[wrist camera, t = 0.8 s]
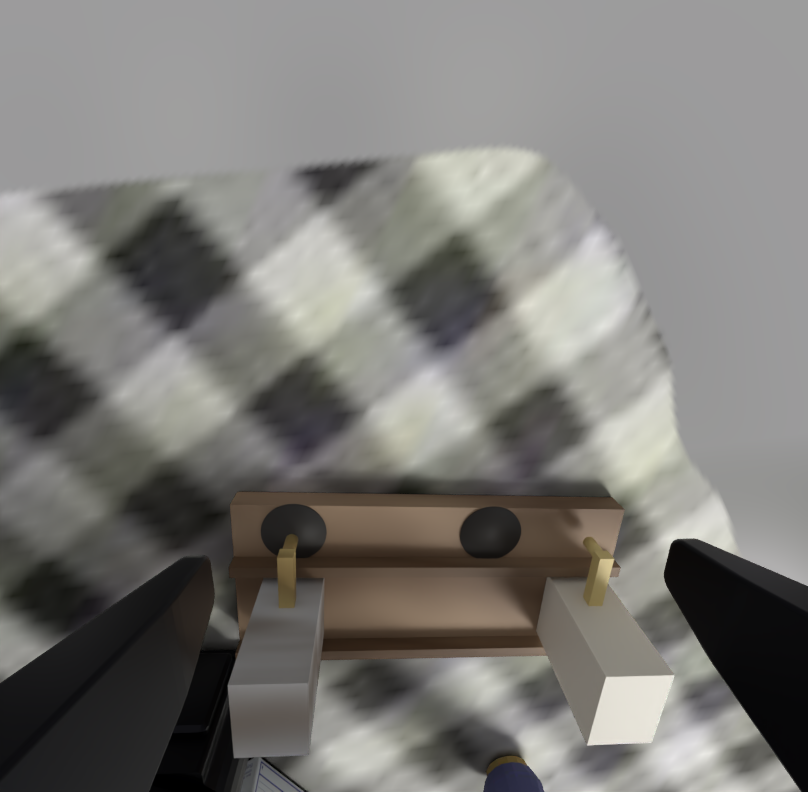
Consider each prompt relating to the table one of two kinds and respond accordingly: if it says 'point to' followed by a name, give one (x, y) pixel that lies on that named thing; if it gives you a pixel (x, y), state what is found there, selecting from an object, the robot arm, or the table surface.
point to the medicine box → (265, 778)
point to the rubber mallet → (511, 776)
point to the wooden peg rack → (388, 588)
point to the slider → (602, 656)
